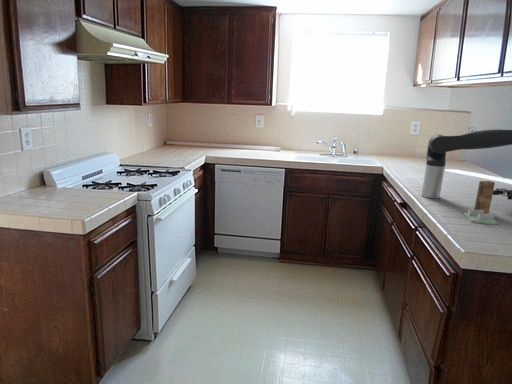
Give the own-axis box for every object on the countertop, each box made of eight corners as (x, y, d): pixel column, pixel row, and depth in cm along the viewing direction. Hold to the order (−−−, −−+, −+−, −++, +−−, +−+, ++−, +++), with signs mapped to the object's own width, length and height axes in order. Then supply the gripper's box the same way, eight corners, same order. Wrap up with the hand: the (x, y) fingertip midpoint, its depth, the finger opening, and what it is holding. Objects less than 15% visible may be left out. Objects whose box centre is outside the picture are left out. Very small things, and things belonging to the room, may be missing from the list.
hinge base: (463, 214, 185) (465, 207, 185) (488, 217, 183) (489, 209, 183) (470, 222, 175) (472, 213, 174) (496, 224, 173) (498, 216, 172)
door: (472, 212, 191) (478, 181, 187) (483, 211, 193) (489, 180, 189) (477, 213, 188) (483, 182, 184) (488, 213, 190) (494, 182, 187)
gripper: (514, 183, 202) (489, 183, 197) (541, 189, 189) (515, 190, 184) (511, 197, 204) (486, 198, 199) (538, 205, 191) (512, 206, 186)
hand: (500, 194), depth 192 cm, fingers open, 8 cm apart
